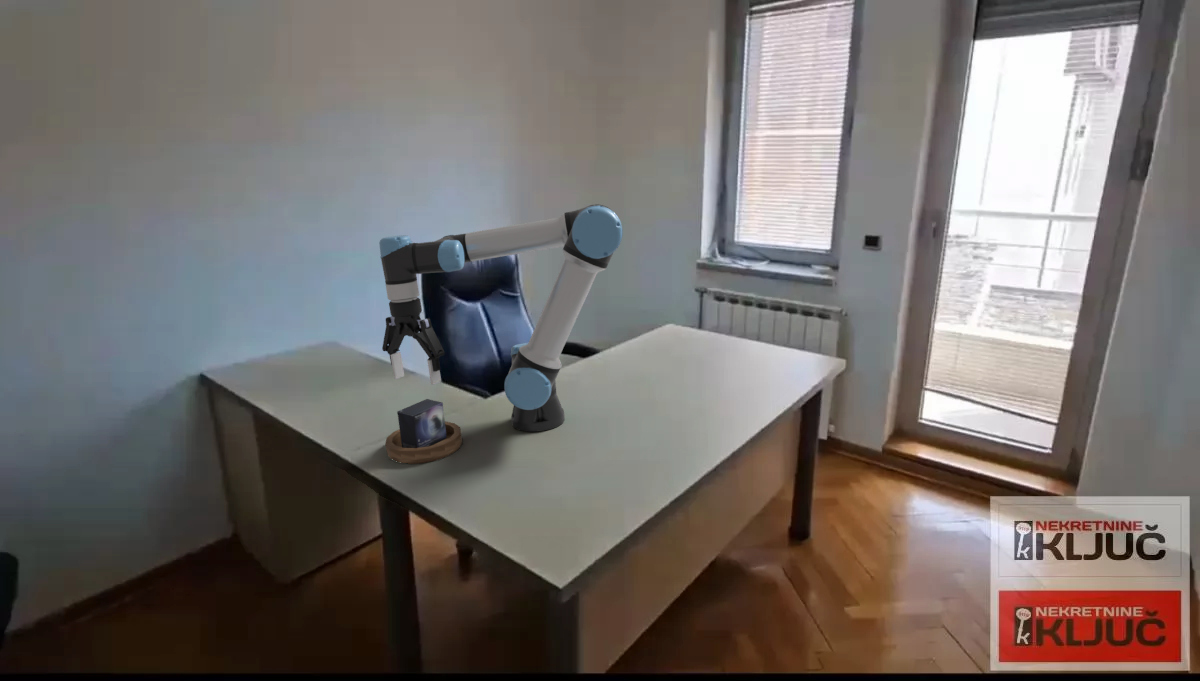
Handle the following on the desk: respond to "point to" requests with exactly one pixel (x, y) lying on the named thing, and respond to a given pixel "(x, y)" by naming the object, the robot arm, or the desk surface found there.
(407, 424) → the small box
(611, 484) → the desk surface
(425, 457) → the tray
